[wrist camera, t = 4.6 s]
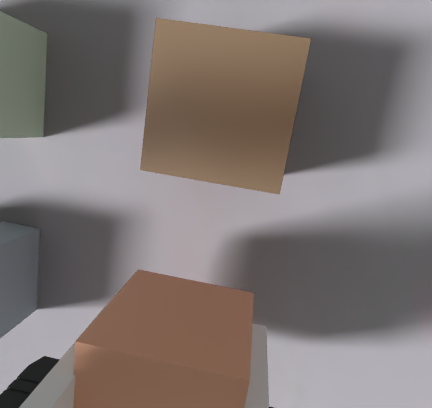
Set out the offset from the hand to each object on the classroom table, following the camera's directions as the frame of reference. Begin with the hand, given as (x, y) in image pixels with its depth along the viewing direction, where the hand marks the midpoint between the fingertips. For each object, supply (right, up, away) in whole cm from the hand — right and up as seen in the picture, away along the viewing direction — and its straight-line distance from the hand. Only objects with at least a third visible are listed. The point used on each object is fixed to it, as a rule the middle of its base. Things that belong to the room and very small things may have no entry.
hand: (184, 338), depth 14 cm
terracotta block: (0, 0, +1) cm, 0 cm away
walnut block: (+2, +10, +2) cm, 10 cm away
